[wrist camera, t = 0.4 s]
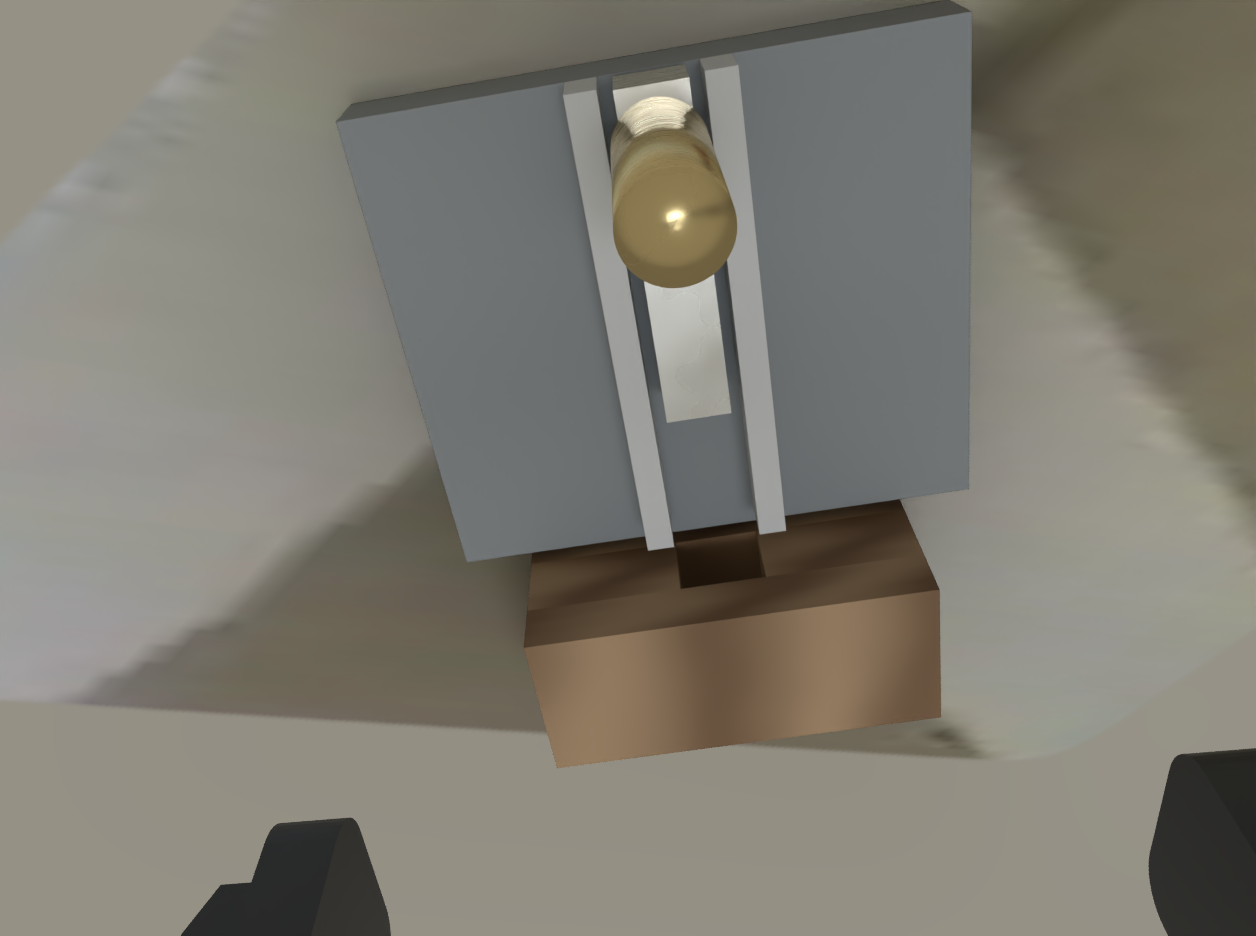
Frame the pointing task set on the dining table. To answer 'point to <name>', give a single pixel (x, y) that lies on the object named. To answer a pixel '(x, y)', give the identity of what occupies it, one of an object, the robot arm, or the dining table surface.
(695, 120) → the bolt
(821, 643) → the jamb keeper
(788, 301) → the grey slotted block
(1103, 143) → the dining table surface
